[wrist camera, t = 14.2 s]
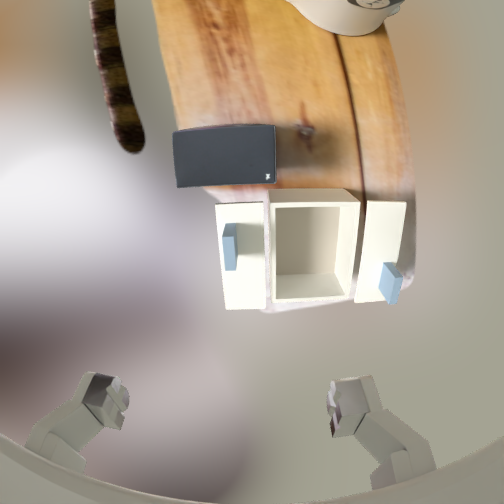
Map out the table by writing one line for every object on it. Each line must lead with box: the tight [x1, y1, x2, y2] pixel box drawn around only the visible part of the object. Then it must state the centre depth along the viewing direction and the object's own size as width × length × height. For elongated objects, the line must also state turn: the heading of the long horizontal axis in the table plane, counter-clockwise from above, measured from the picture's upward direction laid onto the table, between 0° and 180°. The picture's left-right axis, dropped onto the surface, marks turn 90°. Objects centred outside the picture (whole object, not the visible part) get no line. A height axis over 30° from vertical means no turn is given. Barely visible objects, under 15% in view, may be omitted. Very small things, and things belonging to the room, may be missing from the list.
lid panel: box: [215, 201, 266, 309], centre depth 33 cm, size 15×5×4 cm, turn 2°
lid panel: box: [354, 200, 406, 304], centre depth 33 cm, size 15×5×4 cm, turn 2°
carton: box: [267, 188, 360, 303], centre depth 38 cm, size 14×11×7 cm
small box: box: [172, 124, 277, 188], centre depth 32 cm, size 11×6×10 cm, turn 92°
